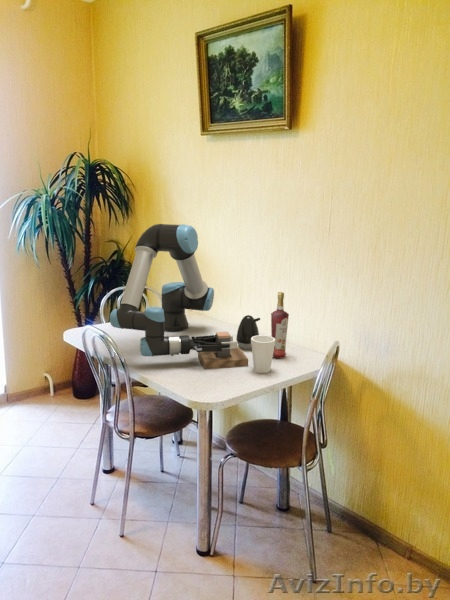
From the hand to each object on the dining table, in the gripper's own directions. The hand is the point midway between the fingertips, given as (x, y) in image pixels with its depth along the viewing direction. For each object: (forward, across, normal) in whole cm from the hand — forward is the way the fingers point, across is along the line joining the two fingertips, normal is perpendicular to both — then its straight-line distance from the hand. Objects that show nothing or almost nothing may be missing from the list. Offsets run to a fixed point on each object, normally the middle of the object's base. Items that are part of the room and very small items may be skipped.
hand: (234, 341), depth 198 cm
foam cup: (+8, +12, -8) cm, 17 cm away
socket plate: (-5, 0, -8) cm, 10 cm away
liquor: (+20, -2, -8) cm, 22 cm away
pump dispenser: (+10, -15, -8) cm, 20 cm away
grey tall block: (-5, 0, -8) cm, 10 cm away
